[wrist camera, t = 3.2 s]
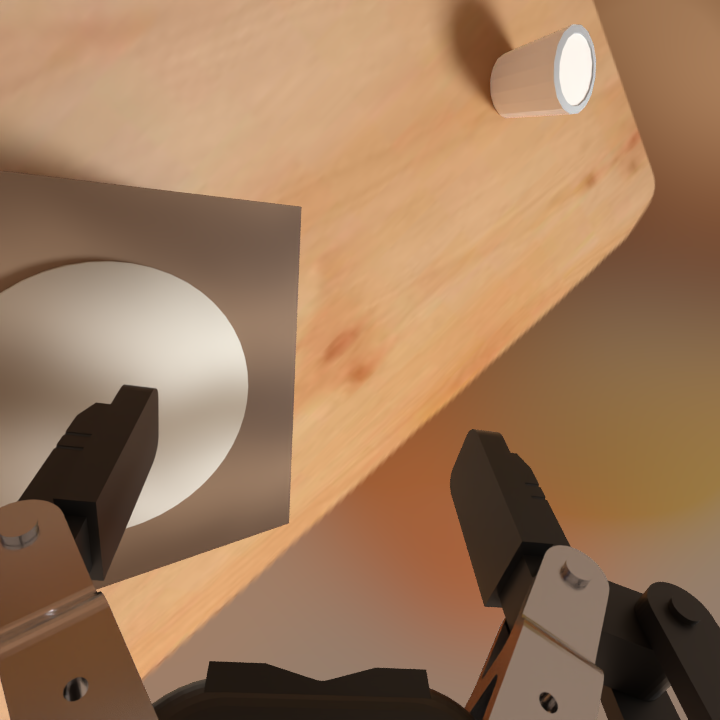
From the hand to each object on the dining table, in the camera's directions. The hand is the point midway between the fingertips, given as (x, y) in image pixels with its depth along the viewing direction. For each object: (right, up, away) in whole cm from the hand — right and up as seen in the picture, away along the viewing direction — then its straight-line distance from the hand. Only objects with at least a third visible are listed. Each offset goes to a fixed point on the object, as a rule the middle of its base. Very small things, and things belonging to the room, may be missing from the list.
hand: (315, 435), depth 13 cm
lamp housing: (-16, +4, +16) cm, 23 cm away
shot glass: (+15, +29, +35) cm, 48 cm away
